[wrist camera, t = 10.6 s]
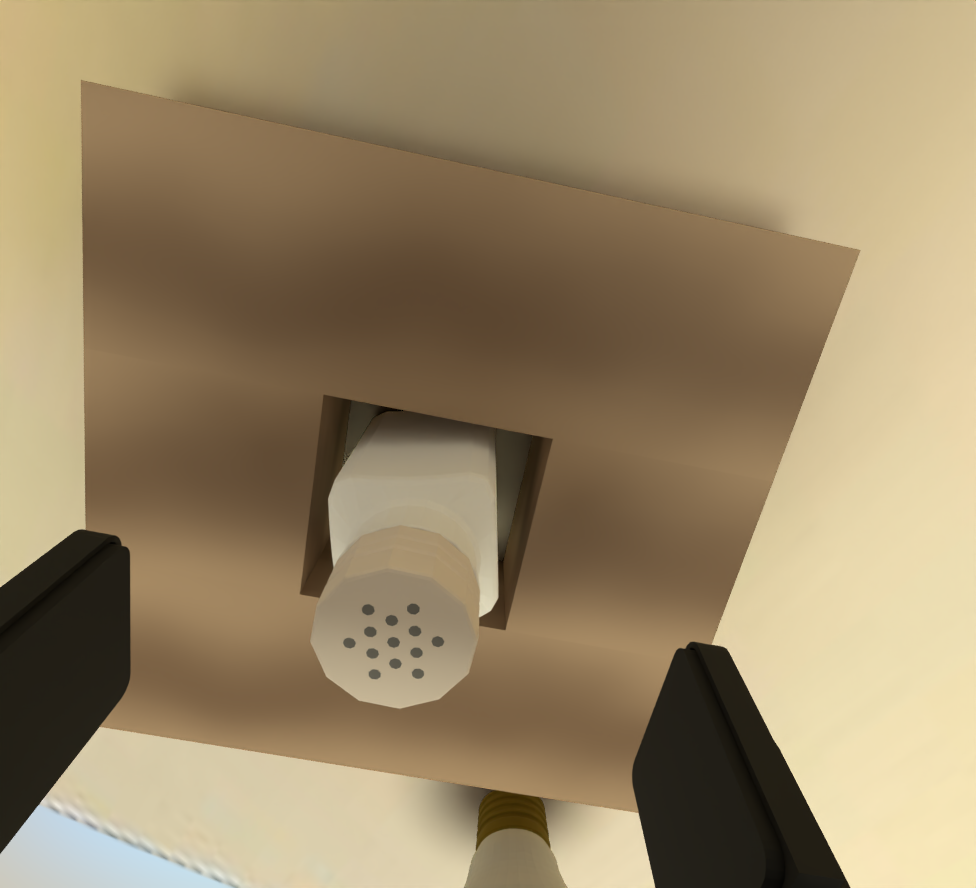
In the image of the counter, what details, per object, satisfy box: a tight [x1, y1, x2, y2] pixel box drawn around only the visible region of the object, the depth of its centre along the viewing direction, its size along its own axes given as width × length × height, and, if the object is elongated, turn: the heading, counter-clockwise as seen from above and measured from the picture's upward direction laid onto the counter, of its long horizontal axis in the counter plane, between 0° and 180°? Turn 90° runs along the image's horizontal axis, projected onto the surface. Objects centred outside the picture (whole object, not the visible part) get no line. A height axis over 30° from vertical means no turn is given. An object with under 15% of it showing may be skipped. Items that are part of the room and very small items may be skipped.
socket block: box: [81, 80, 860, 813], centre depth 19 cm, size 18×18×4 cm
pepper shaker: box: [310, 411, 499, 709], centre depth 16 cm, size 4×4×10 cm
